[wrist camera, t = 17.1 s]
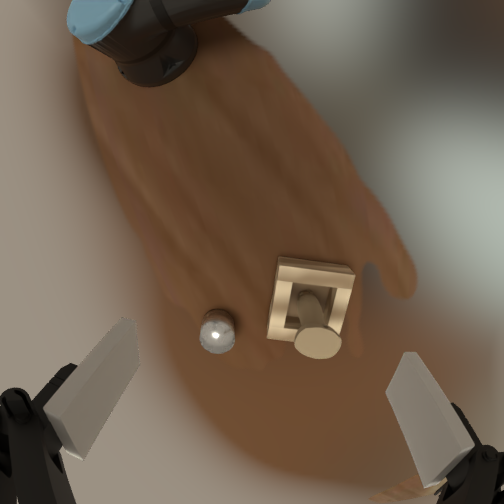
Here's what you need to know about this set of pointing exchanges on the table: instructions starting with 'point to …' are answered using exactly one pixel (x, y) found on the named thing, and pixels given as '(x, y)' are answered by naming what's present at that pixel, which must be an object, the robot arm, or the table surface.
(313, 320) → the handle
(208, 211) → the table surface
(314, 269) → the socket block
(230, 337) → the round plug
